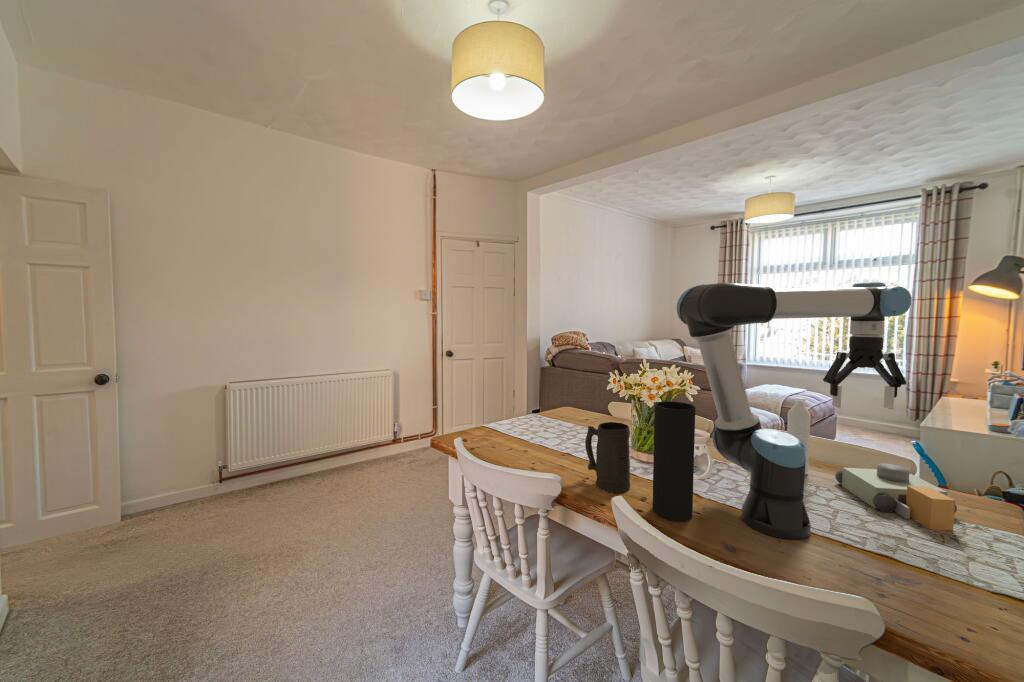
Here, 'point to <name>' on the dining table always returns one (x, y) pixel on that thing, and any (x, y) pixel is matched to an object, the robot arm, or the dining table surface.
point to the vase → (673, 460)
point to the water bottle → (800, 425)
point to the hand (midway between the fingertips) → (862, 407)
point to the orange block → (930, 507)
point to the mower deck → (883, 486)
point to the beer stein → (610, 456)
